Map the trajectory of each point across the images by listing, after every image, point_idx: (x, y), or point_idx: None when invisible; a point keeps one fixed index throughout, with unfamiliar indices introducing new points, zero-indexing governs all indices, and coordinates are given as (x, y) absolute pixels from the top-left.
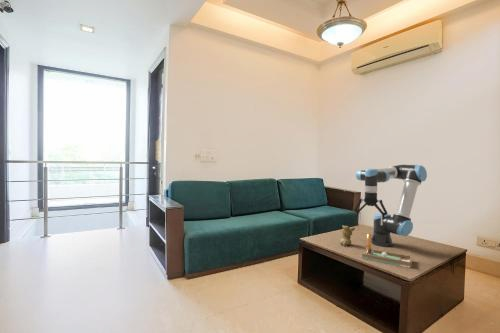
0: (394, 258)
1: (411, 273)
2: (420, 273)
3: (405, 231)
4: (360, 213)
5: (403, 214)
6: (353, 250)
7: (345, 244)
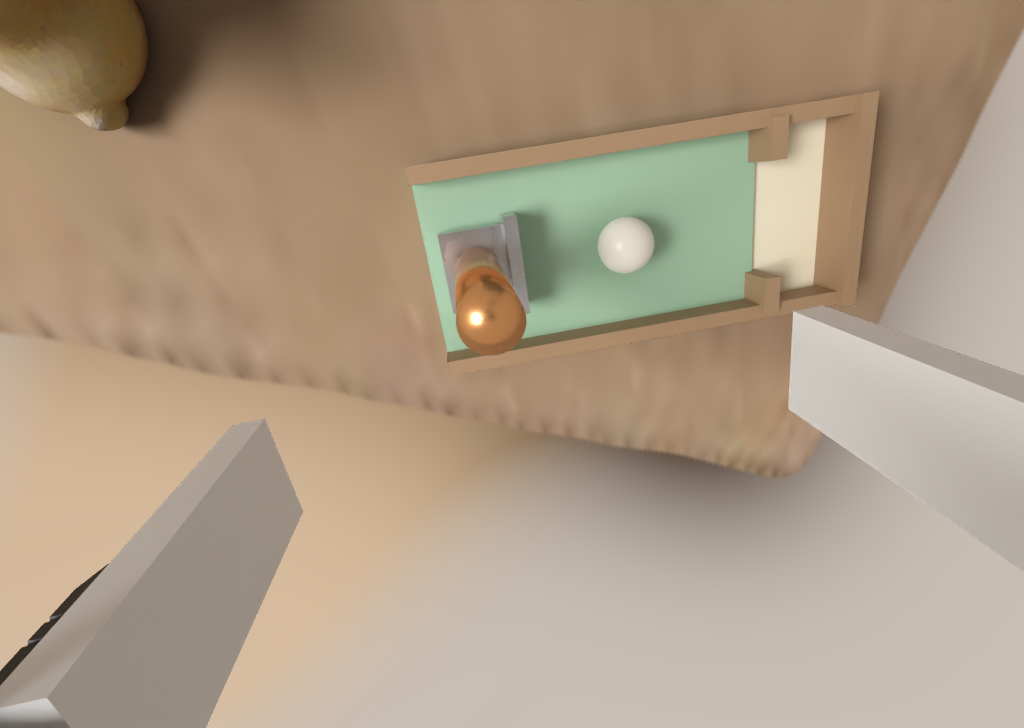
0: (700, 203)
1: None
2: None
3: None
4: (112, 674)
5: None
6: (285, 199)
7: (119, 120)
